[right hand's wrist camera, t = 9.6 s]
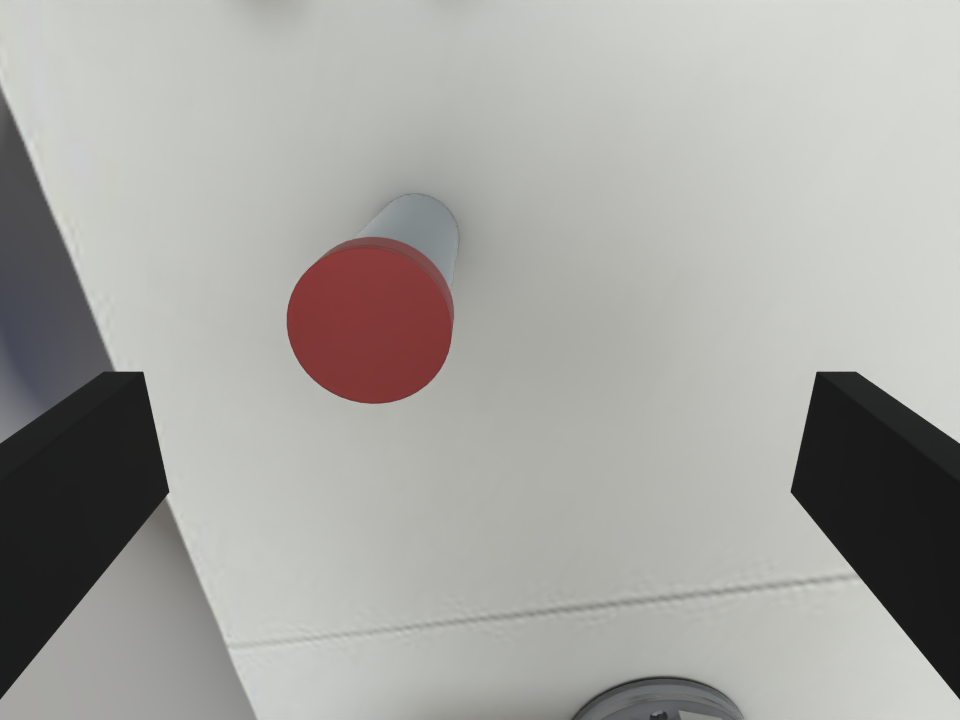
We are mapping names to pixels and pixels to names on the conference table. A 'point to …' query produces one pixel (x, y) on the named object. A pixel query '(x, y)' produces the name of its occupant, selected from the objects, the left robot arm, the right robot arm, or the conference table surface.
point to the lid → (371, 320)
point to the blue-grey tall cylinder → (419, 229)
